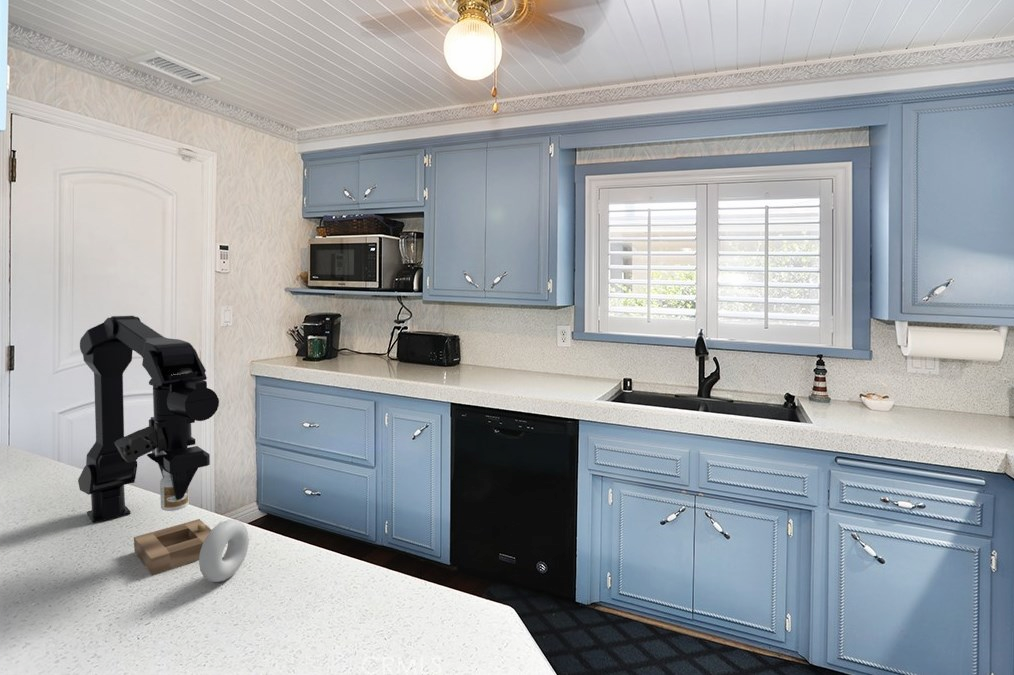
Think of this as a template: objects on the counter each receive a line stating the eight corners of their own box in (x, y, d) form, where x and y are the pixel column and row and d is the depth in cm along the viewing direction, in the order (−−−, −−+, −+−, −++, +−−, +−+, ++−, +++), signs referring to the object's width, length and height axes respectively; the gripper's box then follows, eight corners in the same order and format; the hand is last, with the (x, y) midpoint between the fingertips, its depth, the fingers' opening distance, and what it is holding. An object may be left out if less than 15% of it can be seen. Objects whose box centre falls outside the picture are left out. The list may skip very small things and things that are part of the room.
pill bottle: (166, 514, 95) (164, 472, 95) (157, 506, 98) (155, 466, 97) (192, 506, 99) (191, 466, 98) (183, 499, 102) (182, 460, 101)
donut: (213, 595, 86) (211, 536, 85) (194, 592, 87) (192, 534, 86) (254, 564, 96) (252, 510, 95) (237, 562, 97) (235, 508, 96)
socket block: (134, 552, 99) (133, 531, 99) (199, 533, 107) (199, 514, 107) (151, 575, 92) (150, 553, 91) (220, 552, 100) (219, 532, 99)
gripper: (105, 409, 97) (109, 492, 99) (133, 430, 85) (137, 525, 86) (175, 400, 105) (177, 477, 107) (209, 419, 93) (212, 505, 94)
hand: (175, 494), depth 98 cm, fingers closed on pill bottle, 4 cm apart
